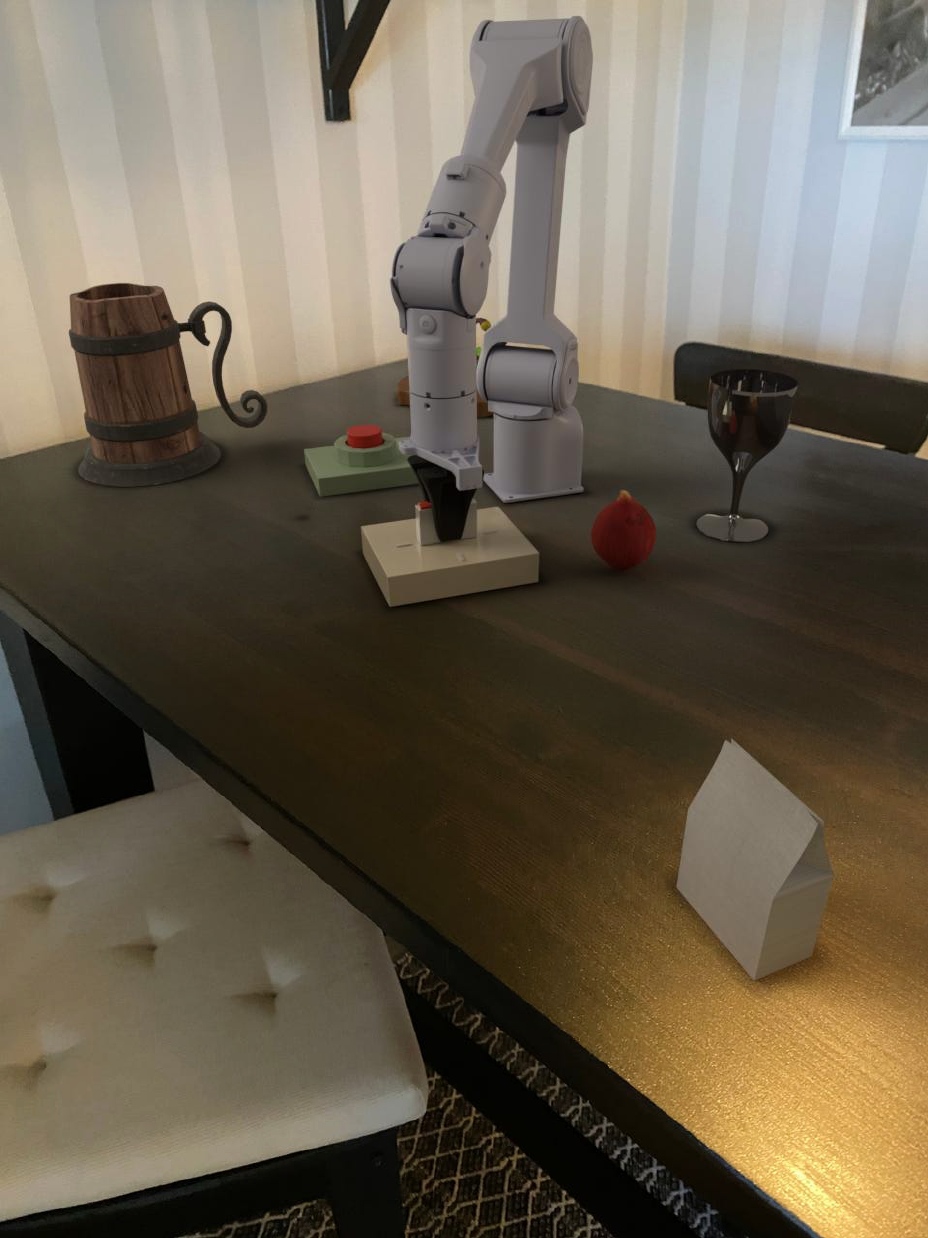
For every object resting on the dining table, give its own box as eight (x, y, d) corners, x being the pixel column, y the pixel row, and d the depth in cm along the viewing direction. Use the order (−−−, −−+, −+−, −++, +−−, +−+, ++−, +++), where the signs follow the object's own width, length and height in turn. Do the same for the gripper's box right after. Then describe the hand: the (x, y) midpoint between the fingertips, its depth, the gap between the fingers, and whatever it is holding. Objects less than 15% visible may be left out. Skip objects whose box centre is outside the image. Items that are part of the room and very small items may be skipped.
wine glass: (778, 518, 93) (803, 373, 86) (765, 549, 87) (792, 396, 80) (701, 506, 96) (719, 365, 89) (684, 535, 90) (702, 387, 83)
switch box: (472, 531, 85) (472, 494, 83) (477, 537, 84) (477, 499, 82) (416, 539, 83) (414, 502, 81) (420, 546, 82) (419, 508, 80)
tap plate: (498, 533, 91) (498, 504, 90) (538, 582, 82) (539, 551, 81) (362, 554, 88) (360, 524, 86) (389, 607, 79) (387, 575, 77)
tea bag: (754, 981, 46) (787, 835, 40) (676, 887, 51) (697, 748, 46) (811, 956, 47) (851, 812, 42) (729, 867, 52) (756, 730, 47)
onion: (656, 561, 85) (664, 482, 81) (646, 589, 81) (655, 507, 77) (596, 553, 87) (601, 475, 83) (582, 580, 82) (587, 499, 78)
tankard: (86, 496, 101) (41, 312, 91) (71, 450, 114) (30, 285, 104) (289, 461, 110) (268, 289, 100) (253, 422, 123) (232, 266, 113)
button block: (410, 453, 112) (408, 421, 110) (432, 482, 103) (431, 448, 101) (305, 466, 108) (302, 434, 106) (320, 497, 100) (316, 463, 98)
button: (378, 437, 106) (377, 422, 105) (386, 448, 103) (385, 433, 102) (345, 441, 105) (343, 426, 104) (351, 452, 102) (350, 437, 101)
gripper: (377, 371, 81) (385, 510, 88) (421, 419, 69) (427, 576, 76) (451, 364, 83) (454, 500, 90) (506, 409, 71) (505, 563, 78)
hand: (446, 534), depth 83 cm, fingers closed on switch box
